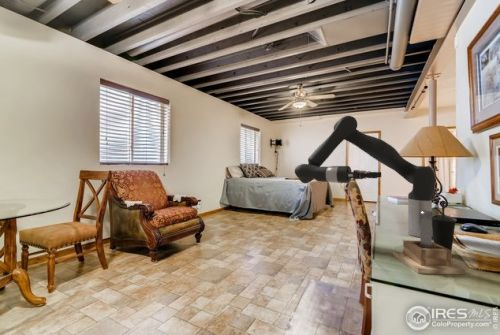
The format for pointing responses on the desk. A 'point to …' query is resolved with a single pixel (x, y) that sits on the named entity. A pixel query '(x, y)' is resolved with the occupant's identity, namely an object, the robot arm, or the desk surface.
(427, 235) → the ball topped joystick
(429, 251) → the wooden square box
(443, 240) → the drinking cup
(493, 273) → the desk surface
